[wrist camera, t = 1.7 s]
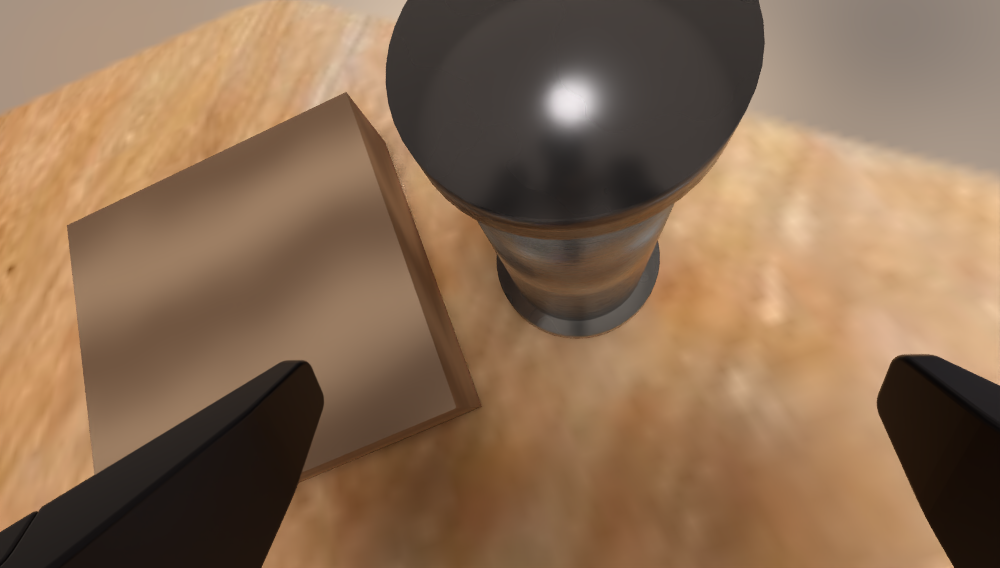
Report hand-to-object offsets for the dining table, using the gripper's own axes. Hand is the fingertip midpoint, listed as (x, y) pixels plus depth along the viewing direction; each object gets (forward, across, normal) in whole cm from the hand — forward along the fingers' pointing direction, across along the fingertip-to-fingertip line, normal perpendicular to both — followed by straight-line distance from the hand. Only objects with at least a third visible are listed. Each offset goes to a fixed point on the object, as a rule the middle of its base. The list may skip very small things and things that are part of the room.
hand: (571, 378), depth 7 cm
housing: (+12, 0, +5) cm, 13 cm away
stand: (+11, +13, +6) cm, 18 cm away
